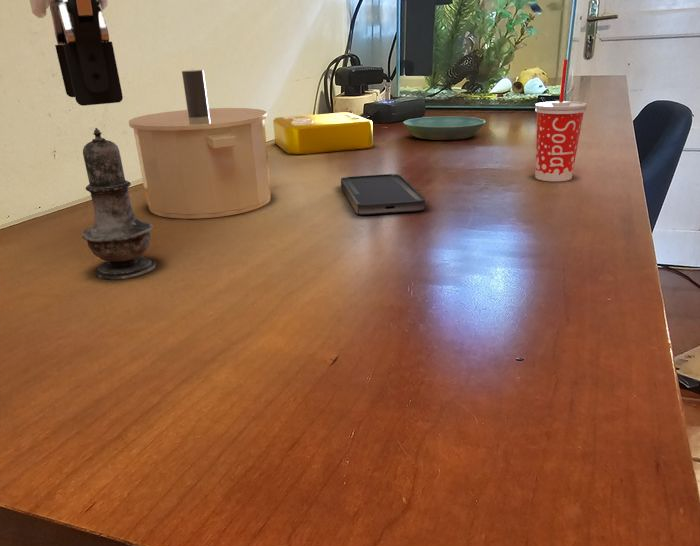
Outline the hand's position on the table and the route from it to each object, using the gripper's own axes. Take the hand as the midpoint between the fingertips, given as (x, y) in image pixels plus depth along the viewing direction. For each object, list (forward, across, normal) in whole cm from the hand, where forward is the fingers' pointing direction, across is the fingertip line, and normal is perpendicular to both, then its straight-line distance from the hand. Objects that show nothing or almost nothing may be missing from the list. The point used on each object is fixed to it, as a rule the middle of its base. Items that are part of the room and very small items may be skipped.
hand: (93, 99), depth 50 cm
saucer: (+14, -45, +63) cm, 79 cm away
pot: (+14, -20, +13) cm, 28 cm away
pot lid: (+5, -20, +13) cm, 24 cm away
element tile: (+14, -50, +41) cm, 66 cm away
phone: (+14, -10, +31) cm, 35 cm away
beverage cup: (+15, -7, +55) cm, 57 cm away
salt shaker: (+14, 0, 0) cm, 14 cm away
